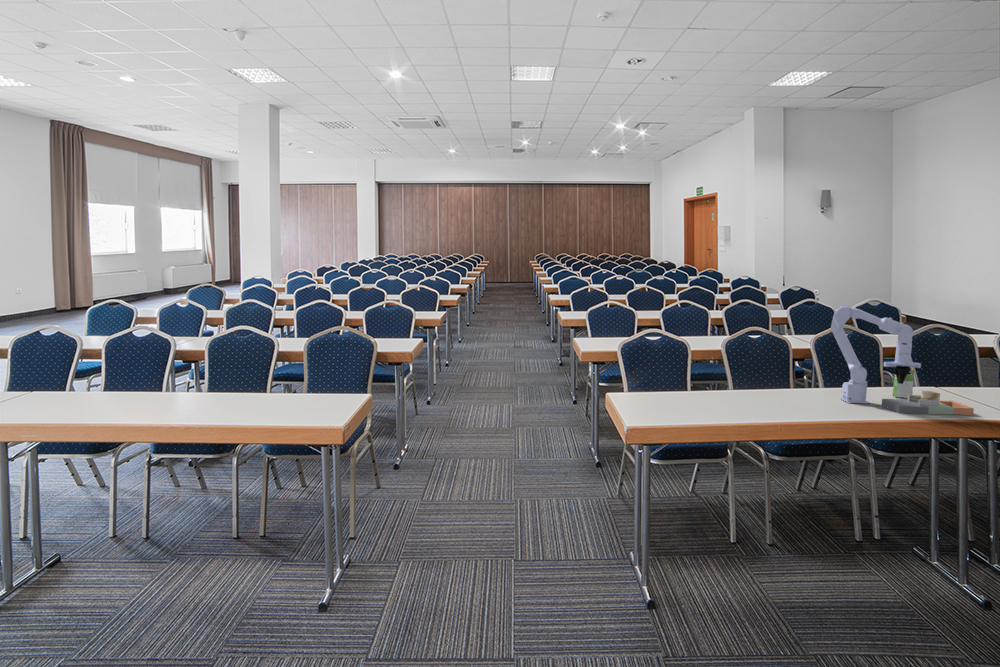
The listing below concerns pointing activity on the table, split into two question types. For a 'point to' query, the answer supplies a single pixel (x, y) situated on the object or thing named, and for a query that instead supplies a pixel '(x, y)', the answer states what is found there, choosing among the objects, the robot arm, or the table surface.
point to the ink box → (904, 386)
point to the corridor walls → (922, 400)
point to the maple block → (930, 395)
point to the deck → (927, 407)
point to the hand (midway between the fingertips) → (900, 383)
